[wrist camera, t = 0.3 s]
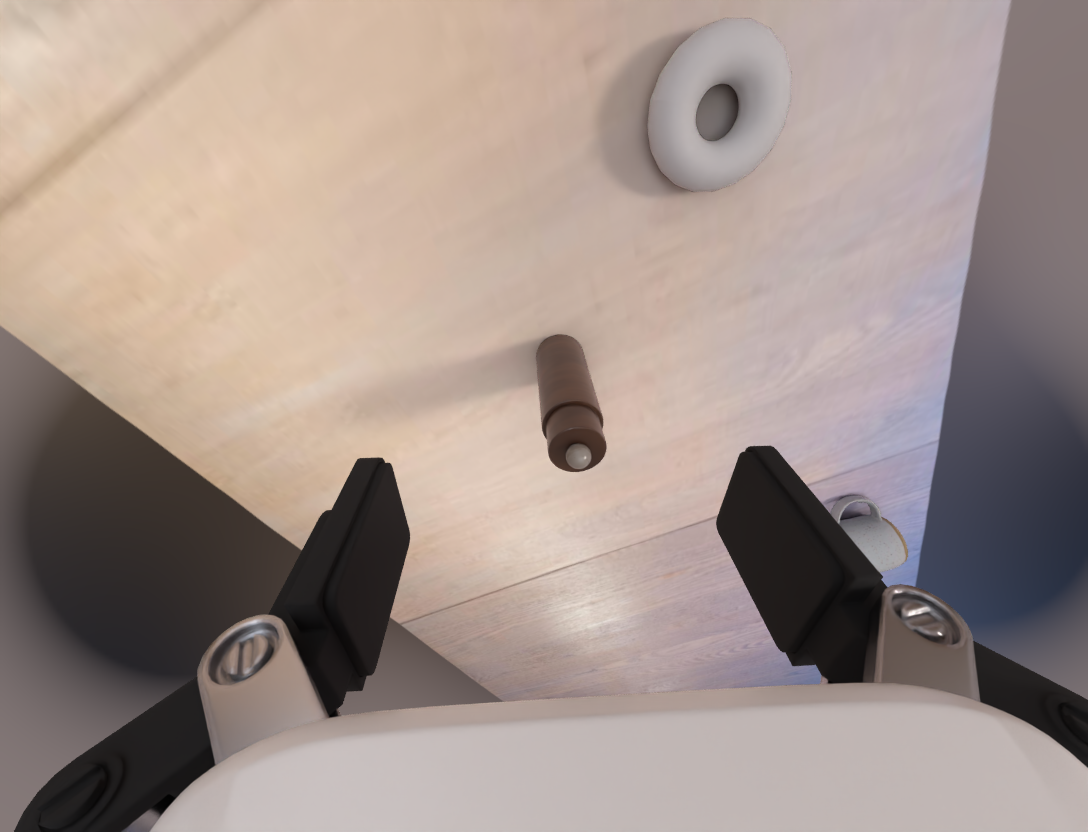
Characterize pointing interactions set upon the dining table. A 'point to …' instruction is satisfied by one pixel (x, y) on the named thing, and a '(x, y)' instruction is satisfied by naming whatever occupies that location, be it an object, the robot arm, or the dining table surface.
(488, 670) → the dining table surface
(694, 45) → the donut
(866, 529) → the ceramic mug
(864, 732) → the robot arm
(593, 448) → the pepper mill
